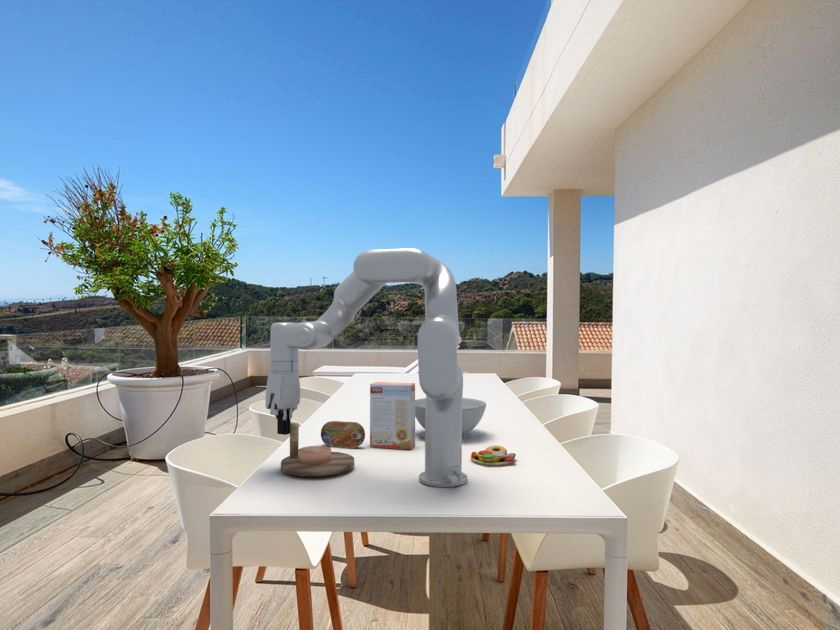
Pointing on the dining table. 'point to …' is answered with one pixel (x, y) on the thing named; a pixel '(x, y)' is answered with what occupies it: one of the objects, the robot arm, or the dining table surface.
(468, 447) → the dining table surface
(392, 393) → the cracker box
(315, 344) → the robot arm
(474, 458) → the toy food set
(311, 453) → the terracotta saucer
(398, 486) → the dining table surface
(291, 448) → the turntable
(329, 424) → the tin
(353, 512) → the dining table surface
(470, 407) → the decorative bowl
